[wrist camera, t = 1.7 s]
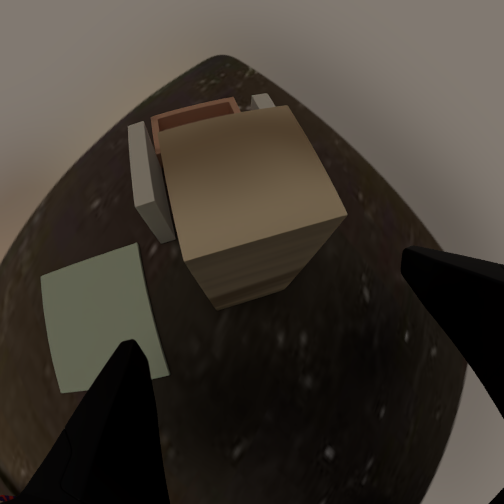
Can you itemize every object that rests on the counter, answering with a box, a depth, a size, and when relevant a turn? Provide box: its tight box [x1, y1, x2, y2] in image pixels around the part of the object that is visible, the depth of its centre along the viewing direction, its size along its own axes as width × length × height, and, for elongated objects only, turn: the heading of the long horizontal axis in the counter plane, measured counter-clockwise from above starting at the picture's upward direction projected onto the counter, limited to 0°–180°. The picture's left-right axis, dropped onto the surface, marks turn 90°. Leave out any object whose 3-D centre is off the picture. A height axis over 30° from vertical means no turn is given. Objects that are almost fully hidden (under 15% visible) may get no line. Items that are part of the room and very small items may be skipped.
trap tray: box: [151, 97, 240, 168], centre depth 22 cm, size 5×8×2 cm, turn 108°
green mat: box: [41, 243, 171, 393], centre depth 17 cm, size 10×10×1 cm
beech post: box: [158, 105, 348, 311], centre depth 14 cm, size 5×5×12 cm
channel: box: [128, 93, 275, 244], centre depth 19 cm, size 7×10×6 cm
